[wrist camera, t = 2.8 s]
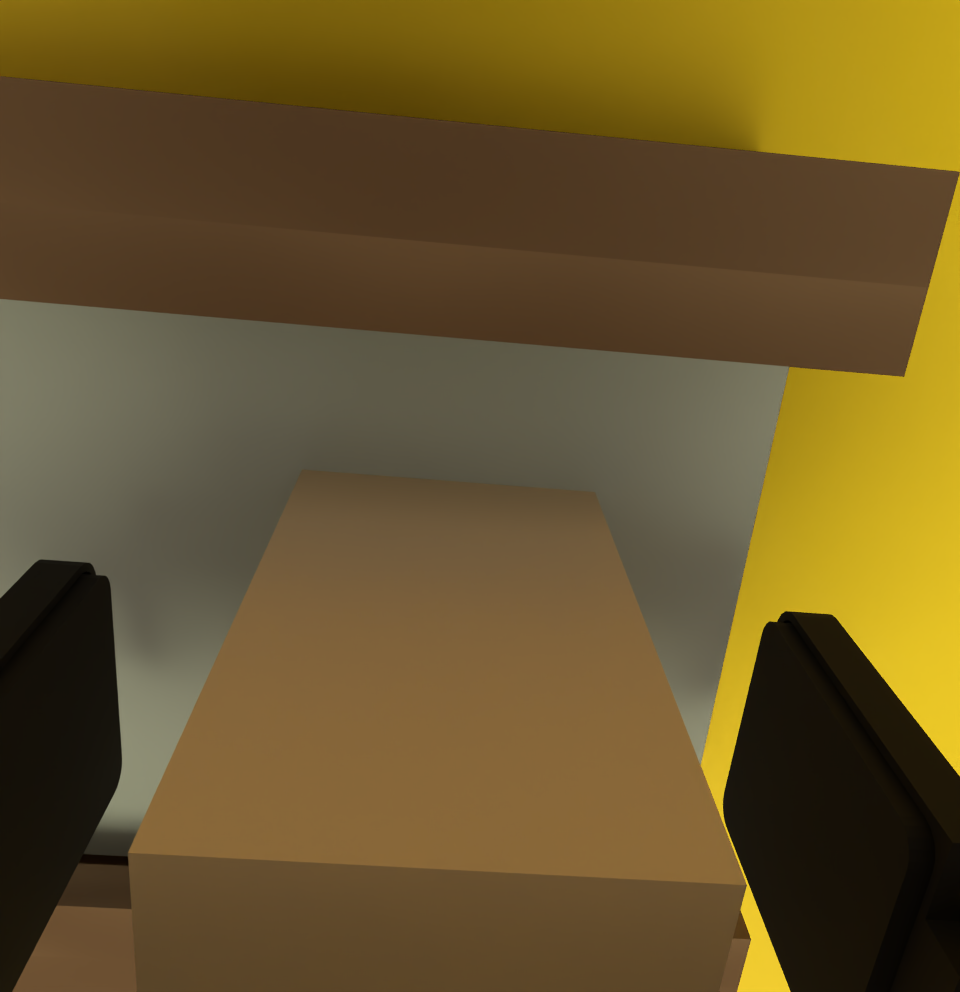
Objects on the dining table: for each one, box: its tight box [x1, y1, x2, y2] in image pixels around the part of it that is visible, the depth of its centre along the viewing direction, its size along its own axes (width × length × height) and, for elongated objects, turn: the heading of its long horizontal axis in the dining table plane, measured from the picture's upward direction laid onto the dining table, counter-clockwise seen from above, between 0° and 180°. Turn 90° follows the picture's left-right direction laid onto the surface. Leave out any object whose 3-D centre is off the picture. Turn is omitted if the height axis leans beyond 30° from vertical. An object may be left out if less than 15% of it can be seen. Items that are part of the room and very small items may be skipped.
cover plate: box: [0, 299, 789, 992], centre depth 10 cm, size 10×14×8 cm
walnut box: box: [0, 76, 960, 992], centre depth 14 cm, size 13×16×7 cm
